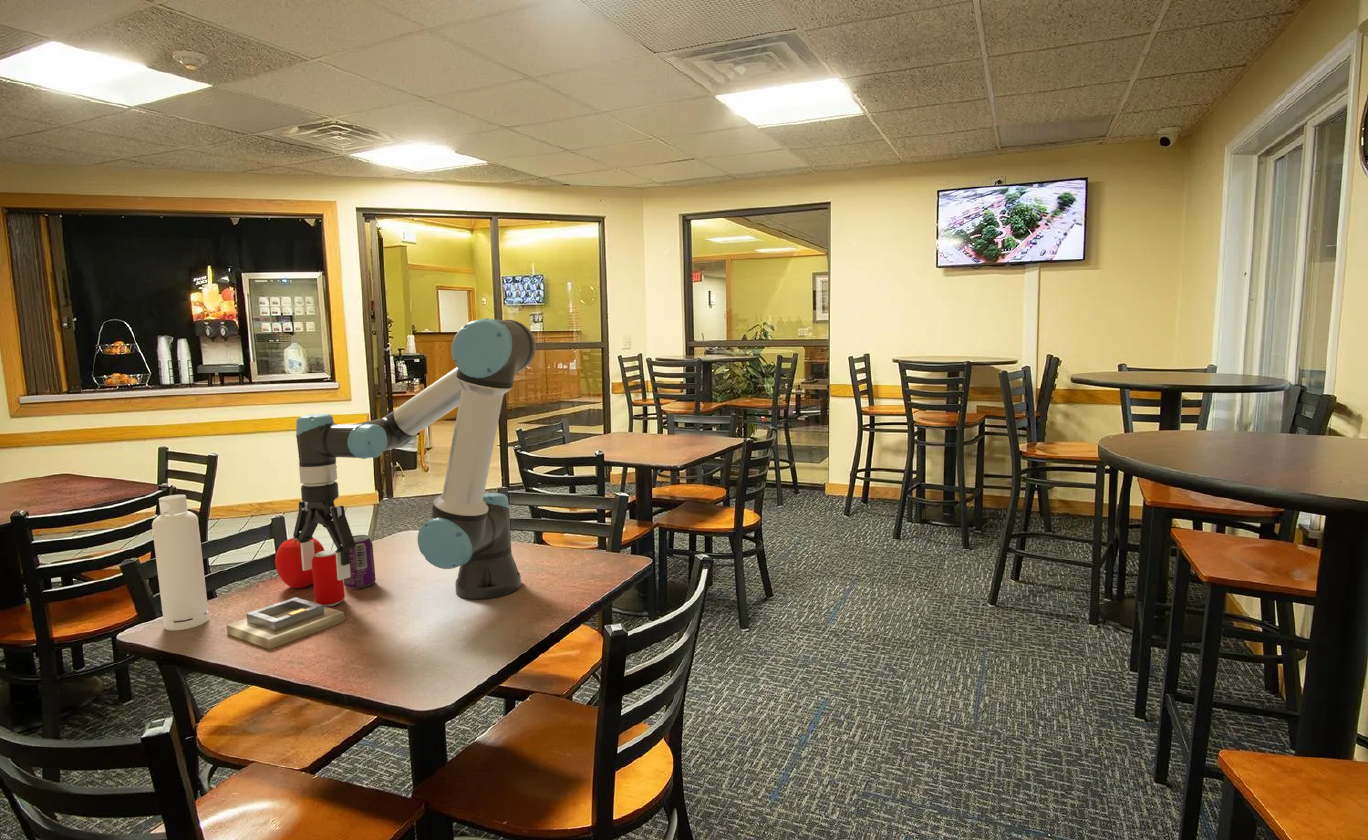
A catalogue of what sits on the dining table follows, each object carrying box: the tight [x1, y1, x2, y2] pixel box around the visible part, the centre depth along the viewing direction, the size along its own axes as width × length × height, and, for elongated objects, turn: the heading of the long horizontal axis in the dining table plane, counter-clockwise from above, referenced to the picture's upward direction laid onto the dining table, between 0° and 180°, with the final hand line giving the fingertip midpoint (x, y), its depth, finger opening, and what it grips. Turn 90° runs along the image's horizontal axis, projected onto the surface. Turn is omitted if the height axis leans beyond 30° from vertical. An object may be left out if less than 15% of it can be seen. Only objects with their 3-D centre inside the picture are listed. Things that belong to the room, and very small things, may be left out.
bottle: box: [151, 494, 210, 631], centre depth 157 cm, size 8×8×28 cm
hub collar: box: [246, 596, 324, 632], centre depth 153 cm, size 10×10×2 cm
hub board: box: [226, 607, 345, 650], centre depth 153 cm, size 16×16×2 cm
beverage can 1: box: [312, 549, 346, 608], centre depth 166 cm, size 6×6×12 cm
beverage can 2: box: [343, 534, 376, 590], centre depth 178 cm, size 7×7×12 cm
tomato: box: [274, 537, 326, 589], centre depth 179 cm, size 11×11×13 cm
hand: (326, 573), depth 166 cm, fingers open, 13 cm apart
